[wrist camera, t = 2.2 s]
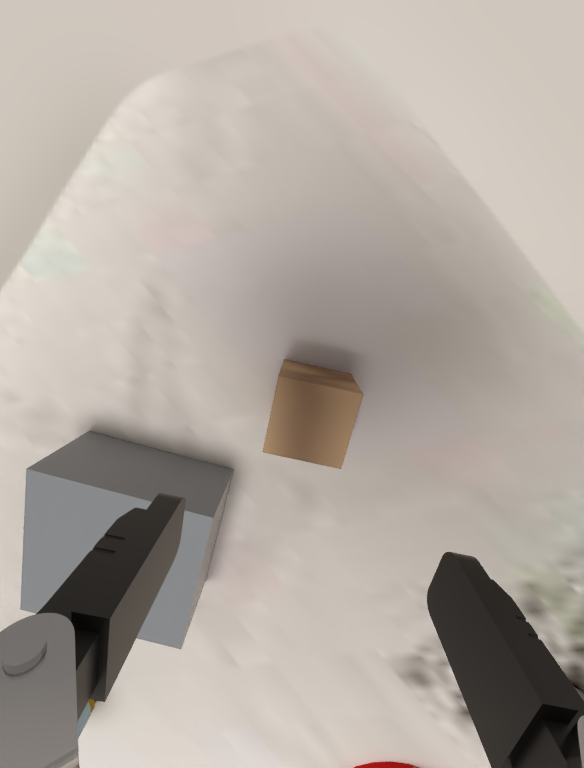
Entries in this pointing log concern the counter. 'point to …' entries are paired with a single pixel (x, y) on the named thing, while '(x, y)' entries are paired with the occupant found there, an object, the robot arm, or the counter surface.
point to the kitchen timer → (386, 765)
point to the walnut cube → (312, 414)
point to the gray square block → (105, 505)
